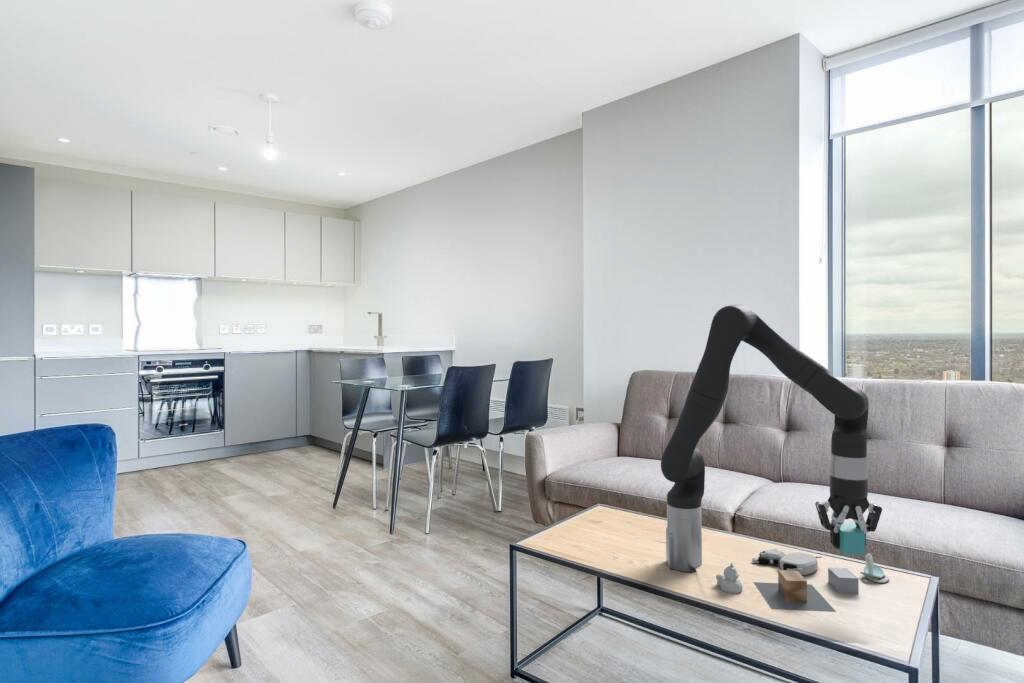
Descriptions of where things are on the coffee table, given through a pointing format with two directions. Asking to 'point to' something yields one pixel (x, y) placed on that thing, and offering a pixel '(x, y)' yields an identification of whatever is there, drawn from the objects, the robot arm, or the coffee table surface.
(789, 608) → the base plate
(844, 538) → the teal brick
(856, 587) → the grey brick
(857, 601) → the coffee table surface
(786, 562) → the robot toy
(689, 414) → the robot arm
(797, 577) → the base brick
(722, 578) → the rubber duck
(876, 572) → the pacifier
